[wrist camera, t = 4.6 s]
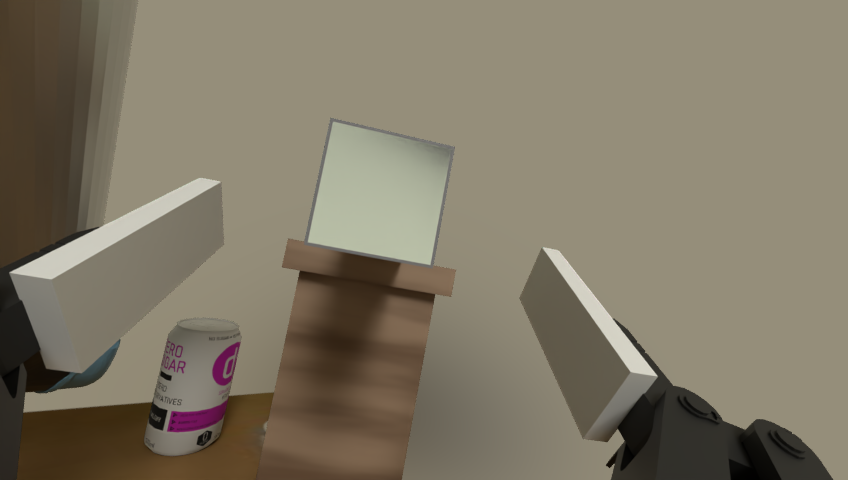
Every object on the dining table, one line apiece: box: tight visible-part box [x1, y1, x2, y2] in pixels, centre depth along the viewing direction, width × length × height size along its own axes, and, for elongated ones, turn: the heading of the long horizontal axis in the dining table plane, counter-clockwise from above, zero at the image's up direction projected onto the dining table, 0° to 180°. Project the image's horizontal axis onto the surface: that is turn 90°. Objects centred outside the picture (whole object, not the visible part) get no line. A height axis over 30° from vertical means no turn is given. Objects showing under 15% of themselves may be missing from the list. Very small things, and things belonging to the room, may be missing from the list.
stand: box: [256, 239, 456, 480], centre depth 33 cm, size 20×12×28 cm, turn 8°
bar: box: [304, 118, 455, 269], centre depth 26 cm, size 30×4×4 cm, turn 8°
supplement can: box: [144, 318, 242, 456], centre depth 44 cm, size 8×8×15 cm
